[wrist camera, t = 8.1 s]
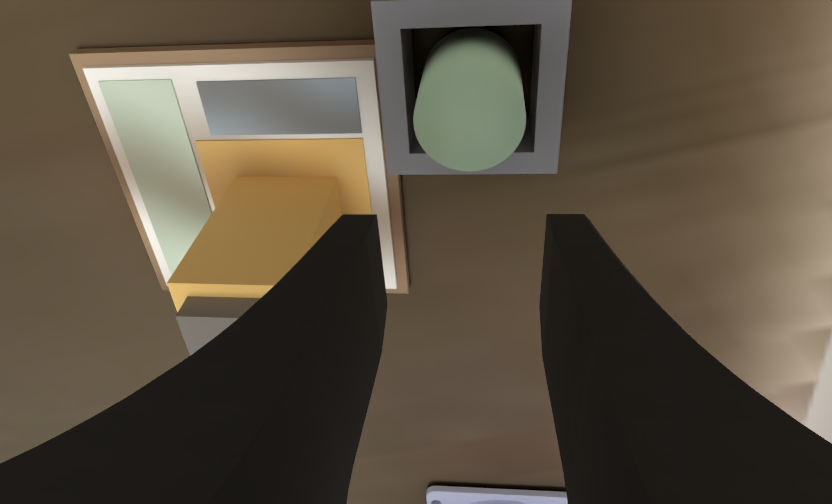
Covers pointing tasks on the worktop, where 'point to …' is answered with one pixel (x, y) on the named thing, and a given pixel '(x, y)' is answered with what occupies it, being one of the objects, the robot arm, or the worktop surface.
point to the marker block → (248, 249)
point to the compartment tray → (241, 133)
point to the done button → (470, 101)
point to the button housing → (461, 7)
